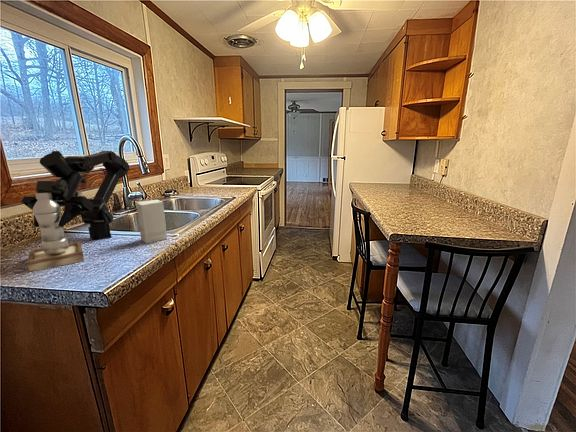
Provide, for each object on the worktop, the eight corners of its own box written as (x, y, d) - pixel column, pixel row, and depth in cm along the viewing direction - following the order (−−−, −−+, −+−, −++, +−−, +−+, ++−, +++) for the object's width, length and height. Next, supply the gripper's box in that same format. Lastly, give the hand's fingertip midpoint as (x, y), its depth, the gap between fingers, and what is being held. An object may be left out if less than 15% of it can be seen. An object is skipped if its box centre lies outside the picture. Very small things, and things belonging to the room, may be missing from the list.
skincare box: (161, 235, 113) (158, 199, 110) (168, 239, 109) (164, 201, 105) (140, 240, 108) (135, 201, 104) (145, 244, 103) (140, 204, 99)
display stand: (81, 249, 97) (80, 241, 96) (84, 260, 87) (82, 252, 87) (32, 257, 89) (30, 249, 88) (29, 271, 79) (27, 262, 79)
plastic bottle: (73, 252, 89) (60, 192, 84) (46, 258, 84) (30, 195, 78) (67, 247, 93) (54, 189, 87) (41, 253, 88) (26, 192, 82)
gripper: (19, 170, 85) (-7, 212, 77) (81, 170, 86) (62, 213, 78) (45, 191, 94) (23, 231, 86) (100, 191, 95) (85, 231, 87)
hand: (47, 226), depth 84 cm, fingers open, 7 cm apart
